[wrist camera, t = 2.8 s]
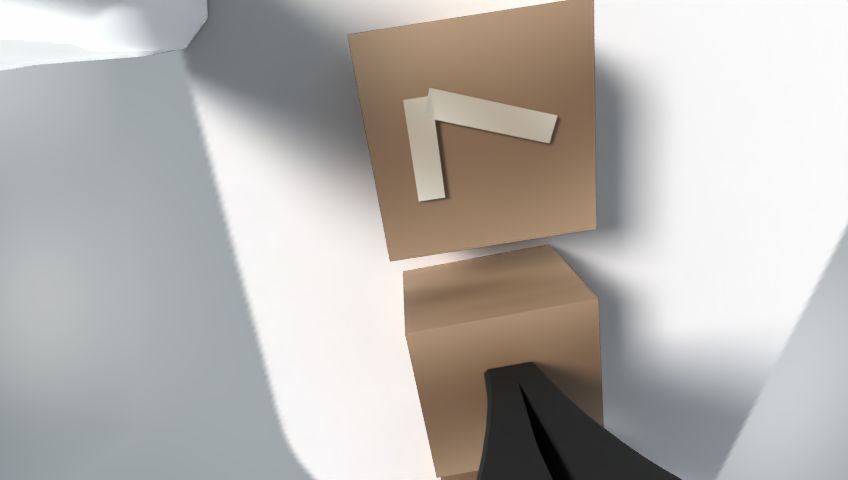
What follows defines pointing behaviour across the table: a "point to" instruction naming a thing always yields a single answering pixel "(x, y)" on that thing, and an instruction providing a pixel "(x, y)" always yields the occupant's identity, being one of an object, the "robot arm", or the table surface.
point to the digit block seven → (481, 127)
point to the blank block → (496, 341)
